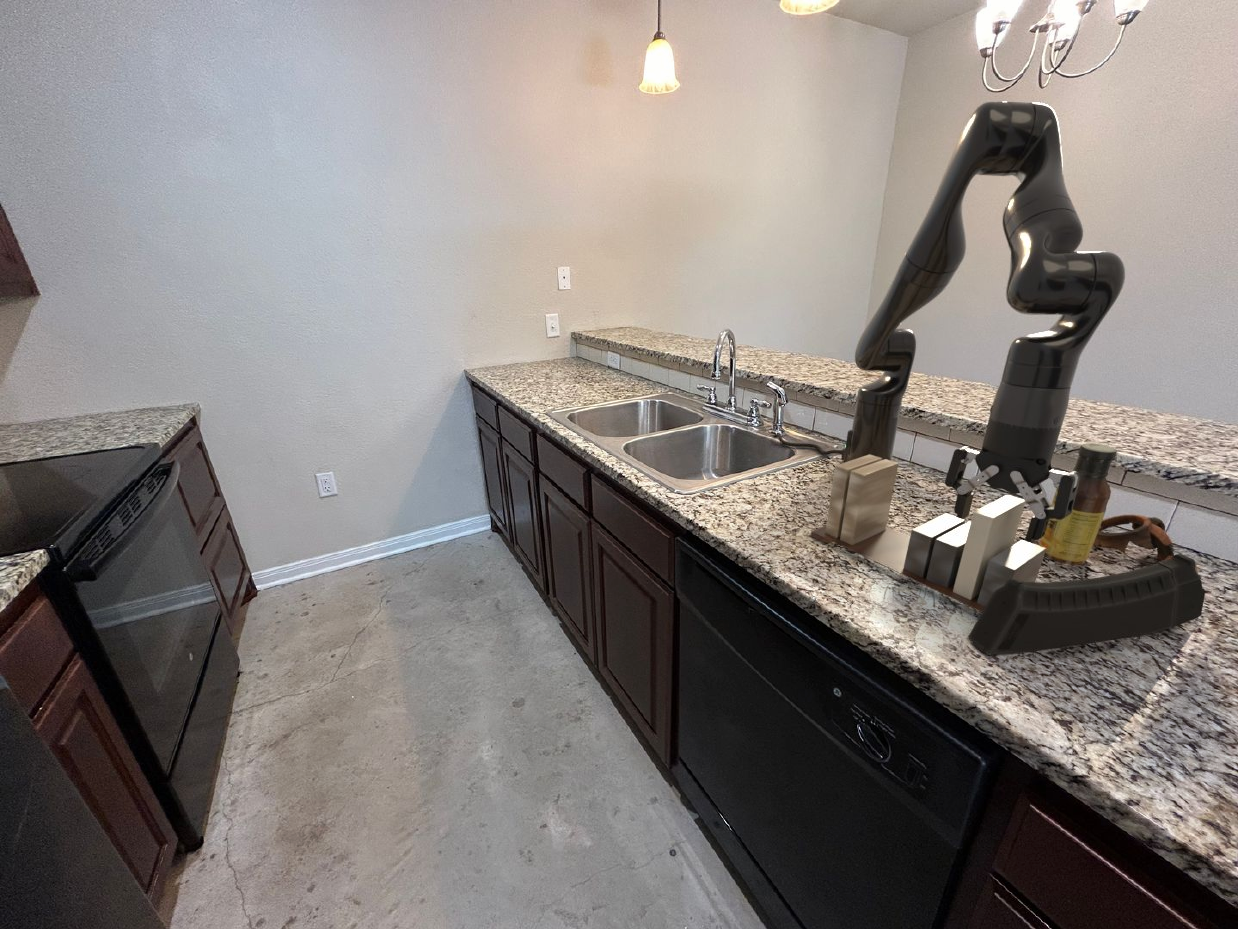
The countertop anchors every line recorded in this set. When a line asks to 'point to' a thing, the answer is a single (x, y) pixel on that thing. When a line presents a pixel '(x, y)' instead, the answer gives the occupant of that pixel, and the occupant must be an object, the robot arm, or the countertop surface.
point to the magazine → (1089, 608)
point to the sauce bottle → (1081, 508)
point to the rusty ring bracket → (1136, 535)
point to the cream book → (987, 542)
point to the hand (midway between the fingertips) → (994, 528)
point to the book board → (912, 535)
